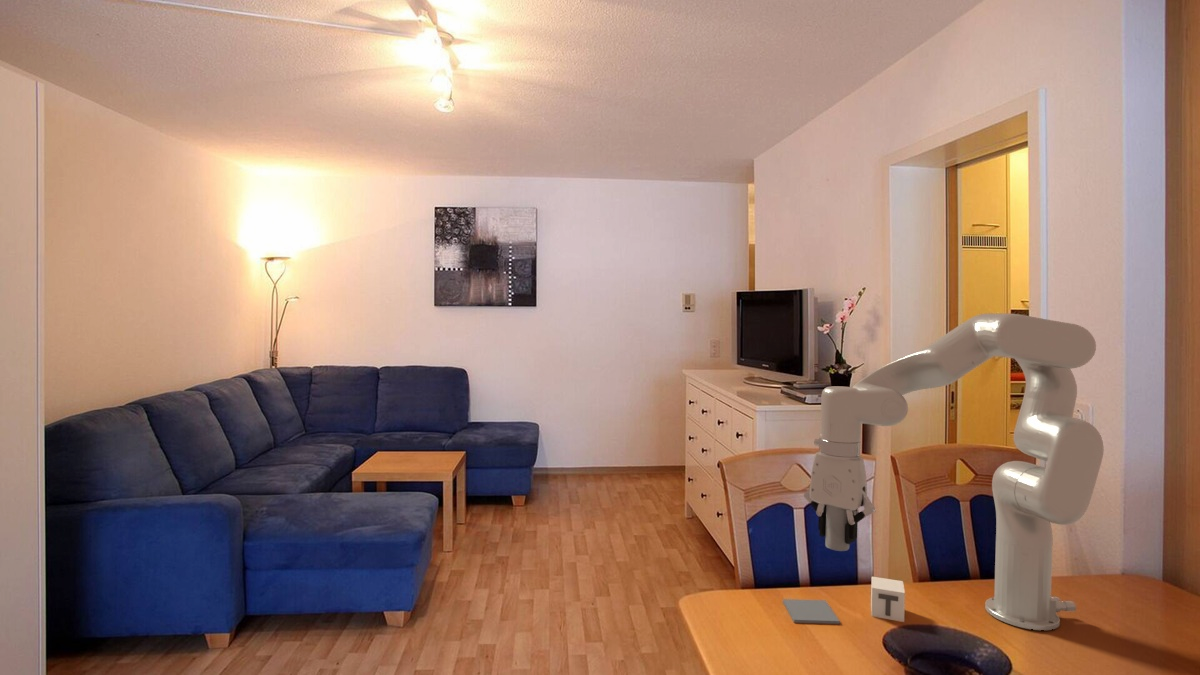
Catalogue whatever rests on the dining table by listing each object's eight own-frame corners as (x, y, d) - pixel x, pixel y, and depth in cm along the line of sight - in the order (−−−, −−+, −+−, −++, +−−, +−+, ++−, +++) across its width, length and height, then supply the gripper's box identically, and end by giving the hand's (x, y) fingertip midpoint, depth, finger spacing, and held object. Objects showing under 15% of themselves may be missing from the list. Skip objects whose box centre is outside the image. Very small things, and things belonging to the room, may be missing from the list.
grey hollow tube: (845, 543, 126) (846, 493, 125) (852, 551, 121) (854, 500, 121) (822, 542, 126) (823, 492, 126) (828, 550, 121) (830, 499, 121)
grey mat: (825, 602, 131) (825, 600, 131) (839, 624, 122) (839, 621, 122) (782, 601, 132) (782, 599, 132) (793, 622, 123) (794, 619, 123)
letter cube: (871, 604, 131) (871, 576, 131) (902, 609, 129) (902, 581, 129) (871, 617, 125) (872, 588, 125) (904, 623, 123) (905, 593, 123)
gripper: (791, 444, 126) (789, 531, 127) (874, 458, 114) (871, 555, 115) (809, 439, 132) (807, 523, 132) (891, 453, 119) (887, 546, 120)
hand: (837, 537), depth 124 cm, fingers closed on grey hollow tube, 4 cm apart
